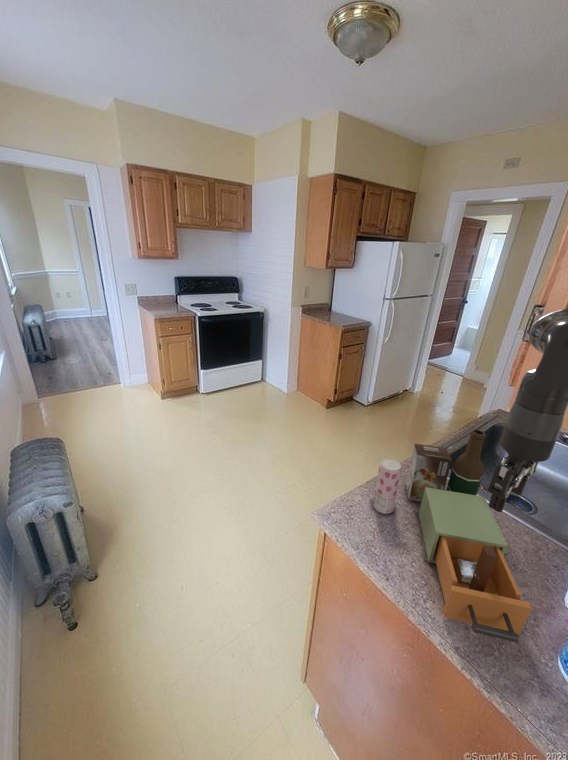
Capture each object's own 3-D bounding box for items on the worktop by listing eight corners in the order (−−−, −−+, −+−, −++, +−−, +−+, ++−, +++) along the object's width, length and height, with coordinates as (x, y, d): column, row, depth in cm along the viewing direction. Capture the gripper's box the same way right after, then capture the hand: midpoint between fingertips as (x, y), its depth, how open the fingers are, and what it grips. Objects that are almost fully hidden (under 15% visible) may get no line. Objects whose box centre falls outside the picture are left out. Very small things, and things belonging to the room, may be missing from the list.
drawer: (530, 664, 57) (545, 636, 54) (449, 643, 60) (458, 615, 57) (492, 568, 74) (501, 543, 71) (430, 555, 77) (437, 531, 74)
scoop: (476, 570, 72) (491, 527, 68) (487, 604, 66) (505, 558, 61) (454, 566, 73) (467, 523, 68) (463, 598, 66) (479, 553, 62)
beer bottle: (457, 490, 100) (476, 422, 91) (479, 507, 93) (502, 436, 84) (438, 496, 97) (456, 427, 88) (459, 514, 91) (481, 442, 82)
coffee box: (436, 491, 99) (447, 447, 93) (441, 506, 94) (453, 460, 88) (405, 486, 101) (414, 442, 95) (408, 500, 96) (417, 454, 90)
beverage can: (397, 510, 92) (406, 467, 86) (382, 517, 89) (390, 472, 84) (383, 497, 96) (391, 455, 91) (368, 503, 94) (375, 460, 88)
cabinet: (496, 576, 73) (508, 545, 70) (428, 562, 76) (436, 532, 73) (475, 524, 87) (484, 496, 84) (418, 514, 90) (425, 486, 87)
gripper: (539, 451, 50) (510, 529, 56) (571, 426, 58) (542, 497, 64) (489, 429, 56) (467, 502, 62) (524, 410, 63) (501, 476, 69)
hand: (505, 500), depth 63 cm, fingers open, 8 cm apart
